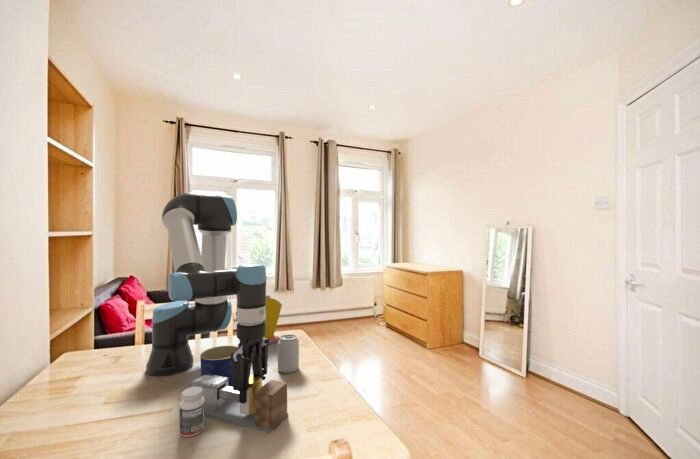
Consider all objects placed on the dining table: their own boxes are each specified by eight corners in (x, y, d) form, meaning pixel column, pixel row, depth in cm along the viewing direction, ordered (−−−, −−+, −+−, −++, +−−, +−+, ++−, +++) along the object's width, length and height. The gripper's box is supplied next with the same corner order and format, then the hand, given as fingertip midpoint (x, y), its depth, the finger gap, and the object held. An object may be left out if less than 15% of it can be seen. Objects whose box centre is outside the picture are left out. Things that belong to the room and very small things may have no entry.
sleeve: (191, 409, 89) (191, 381, 89) (206, 399, 94) (206, 373, 94) (214, 414, 86) (214, 386, 86) (228, 404, 91) (228, 377, 91)
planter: (249, 381, 105) (249, 348, 105) (220, 399, 94) (220, 362, 94) (222, 374, 110) (222, 343, 111) (191, 390, 99) (191, 355, 99)
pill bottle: (185, 424, 82) (185, 385, 82) (208, 423, 82) (208, 384, 82) (175, 438, 76) (175, 397, 76) (199, 437, 76) (199, 396, 76)
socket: (254, 427, 80) (254, 391, 80) (270, 412, 87) (270, 379, 87) (272, 431, 79) (272, 395, 79) (287, 416, 85) (287, 382, 85)
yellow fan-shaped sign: (272, 335, 153) (272, 290, 153) (285, 339, 147) (285, 292, 148) (231, 349, 135) (232, 298, 135) (245, 353, 129) (245, 301, 130)
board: (187, 411, 87) (187, 409, 87) (209, 397, 95) (209, 395, 95) (271, 432, 78) (271, 430, 78) (288, 415, 86) (288, 413, 86)
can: (301, 365, 118) (301, 333, 118) (295, 374, 110) (295, 340, 110) (281, 365, 118) (281, 332, 119) (274, 373, 111) (274, 339, 111)
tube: (201, 402, 88) (202, 373, 88) (212, 395, 92) (212, 368, 92) (268, 418, 81) (268, 387, 81) (277, 410, 84) (277, 380, 85)
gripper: (241, 332, 76) (241, 430, 76) (280, 315, 92) (280, 395, 92) (217, 329, 79) (216, 423, 78) (259, 313, 95) (258, 391, 94)
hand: (250, 408), depth 85 cm, fingers closed on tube, 4 cm apart
